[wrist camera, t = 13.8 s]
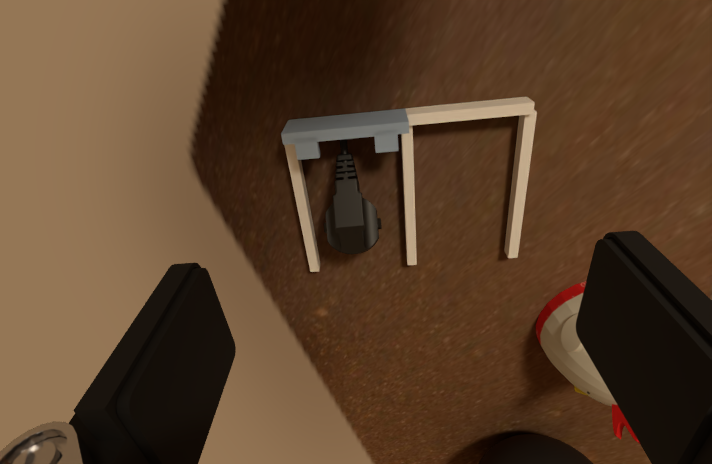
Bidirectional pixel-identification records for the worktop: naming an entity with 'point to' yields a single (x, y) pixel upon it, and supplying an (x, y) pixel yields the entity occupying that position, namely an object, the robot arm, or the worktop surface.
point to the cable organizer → (407, 156)
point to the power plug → (350, 211)
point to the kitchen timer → (574, 351)
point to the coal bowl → (533, 451)
